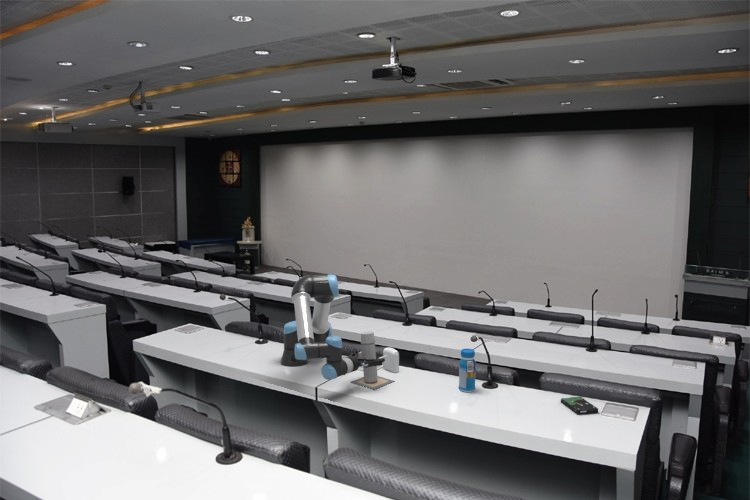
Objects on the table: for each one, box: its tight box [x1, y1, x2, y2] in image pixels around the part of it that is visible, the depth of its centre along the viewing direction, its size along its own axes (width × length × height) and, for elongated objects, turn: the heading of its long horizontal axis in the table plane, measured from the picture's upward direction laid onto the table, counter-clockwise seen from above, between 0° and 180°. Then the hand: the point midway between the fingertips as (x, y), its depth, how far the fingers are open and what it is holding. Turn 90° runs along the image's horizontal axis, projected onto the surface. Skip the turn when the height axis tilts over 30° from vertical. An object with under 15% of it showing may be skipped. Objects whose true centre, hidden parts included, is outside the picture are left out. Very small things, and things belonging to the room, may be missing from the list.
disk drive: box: [560, 396, 599, 416], centre depth 250 cm, size 10×3×15 cm
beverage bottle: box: [458, 348, 477, 393], centre depth 271 cm, size 8×8×20 cm
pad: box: [350, 375, 395, 391], centre depth 282 cm, size 16×16×1 cm
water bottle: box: [360, 330, 379, 383], centre depth 282 cm, size 9×8×25 cm
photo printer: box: [382, 347, 400, 373], centre depth 301 cm, size 10×4×12 cm, turn 39°
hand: (376, 355), depth 283 cm, fingers open, 13 cm apart
